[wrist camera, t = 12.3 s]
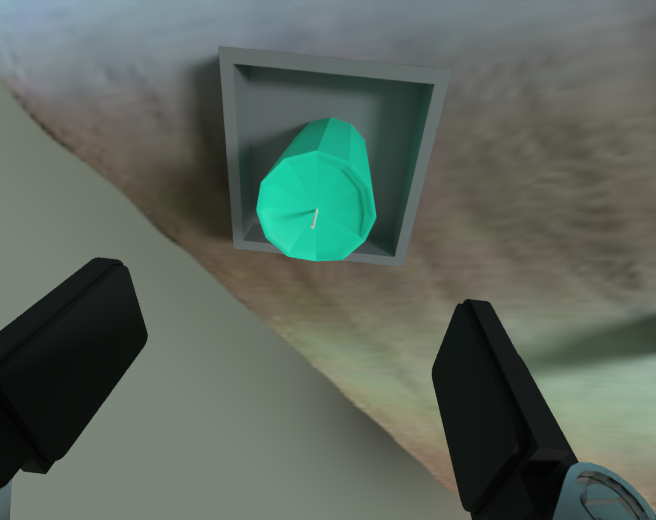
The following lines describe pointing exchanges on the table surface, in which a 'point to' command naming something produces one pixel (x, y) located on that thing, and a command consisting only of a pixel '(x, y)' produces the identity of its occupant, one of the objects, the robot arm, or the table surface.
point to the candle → (319, 194)
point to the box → (340, 103)
